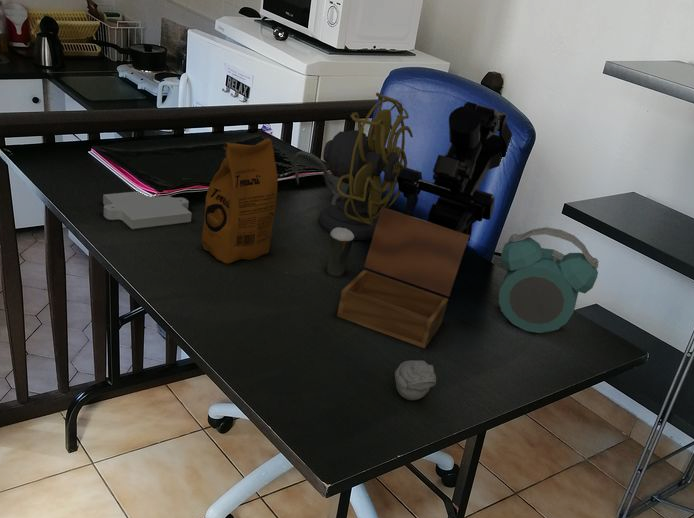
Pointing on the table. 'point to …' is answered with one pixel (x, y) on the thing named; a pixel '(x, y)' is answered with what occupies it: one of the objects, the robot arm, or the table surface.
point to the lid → (416, 251)
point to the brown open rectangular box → (392, 308)
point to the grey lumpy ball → (414, 379)
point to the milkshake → (339, 250)
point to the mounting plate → (145, 209)
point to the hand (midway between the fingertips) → (428, 231)
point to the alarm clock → (543, 281)
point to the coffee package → (241, 203)
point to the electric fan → (362, 170)
